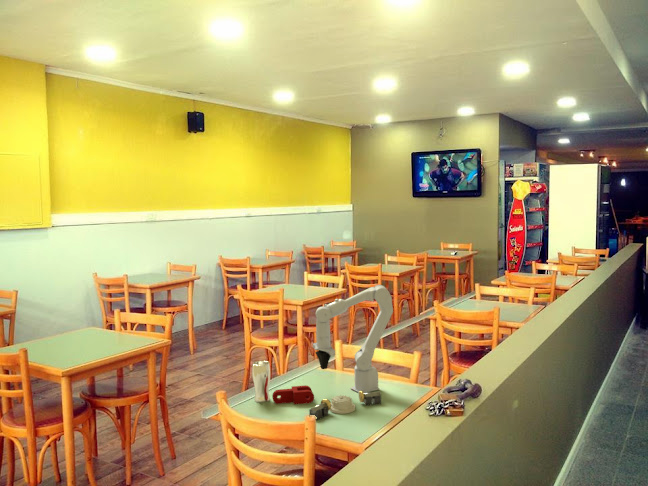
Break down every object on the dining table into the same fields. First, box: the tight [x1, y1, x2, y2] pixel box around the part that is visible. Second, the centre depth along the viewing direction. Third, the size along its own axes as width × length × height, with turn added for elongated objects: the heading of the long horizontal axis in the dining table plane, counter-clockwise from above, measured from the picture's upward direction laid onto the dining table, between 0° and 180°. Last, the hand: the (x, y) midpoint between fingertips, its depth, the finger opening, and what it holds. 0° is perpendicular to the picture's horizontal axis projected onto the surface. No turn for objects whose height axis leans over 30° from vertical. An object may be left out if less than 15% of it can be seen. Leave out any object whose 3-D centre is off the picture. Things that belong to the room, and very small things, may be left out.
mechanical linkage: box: [272, 385, 315, 406], centre depth 231 cm, size 16×7×5 cm, turn 100°
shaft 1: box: [308, 398, 332, 421], centre depth 215 cm, size 8×4×5 cm, turn 141°
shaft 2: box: [358, 391, 382, 406], centre depth 227 cm, size 8×4×5 cm, turn 101°
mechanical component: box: [329, 394, 356, 415], centre depth 222 cm, size 10×4×10 cm
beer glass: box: [252, 360, 271, 403], centre depth 233 cm, size 7×7×15 cm
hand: (324, 368), depth 242 cm, fingers closed
